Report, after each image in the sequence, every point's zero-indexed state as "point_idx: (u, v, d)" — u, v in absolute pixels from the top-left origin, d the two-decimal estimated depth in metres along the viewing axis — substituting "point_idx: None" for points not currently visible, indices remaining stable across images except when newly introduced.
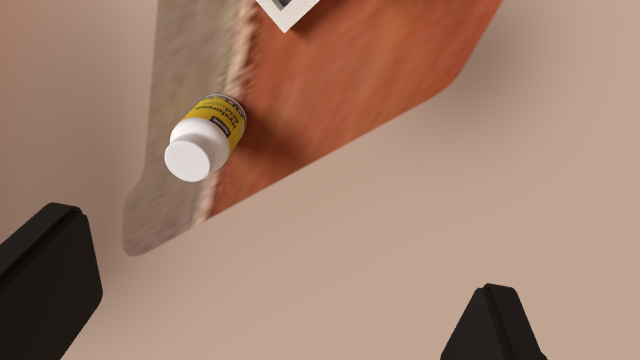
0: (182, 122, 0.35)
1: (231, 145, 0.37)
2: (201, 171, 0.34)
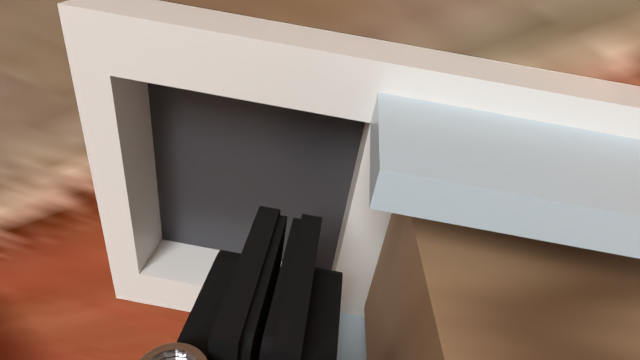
0: None
1: None
2: None
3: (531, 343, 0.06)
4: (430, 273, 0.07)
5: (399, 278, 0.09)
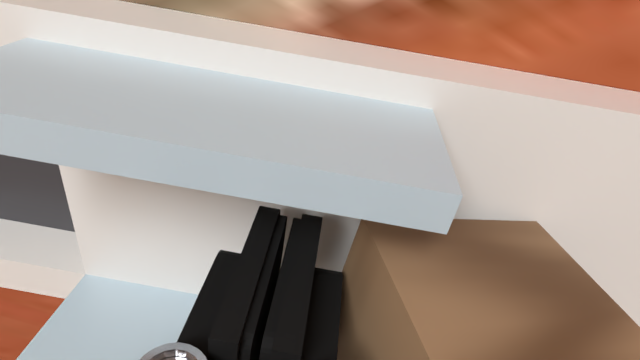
0: None
1: None
2: None
3: None
4: (430, 346, 0.06)
5: (376, 337, 0.08)
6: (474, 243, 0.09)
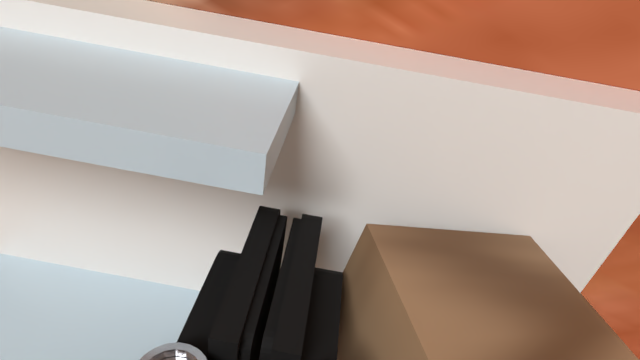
0: None
1: None
2: None
3: None
4: (433, 356, 0.07)
5: (375, 343, 0.08)
6: (472, 255, 0.09)
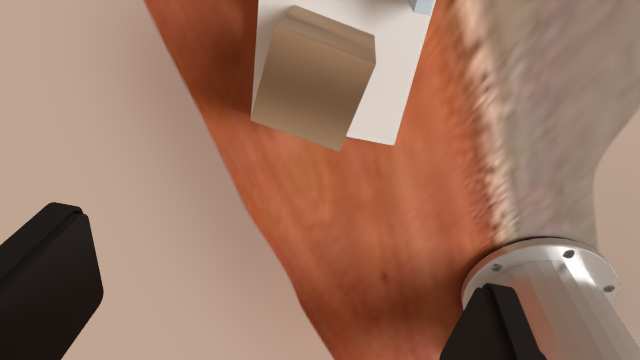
0: None
1: None
2: None
3: None
4: (374, 51, 0.21)
5: (352, 35, 0.22)
6: None
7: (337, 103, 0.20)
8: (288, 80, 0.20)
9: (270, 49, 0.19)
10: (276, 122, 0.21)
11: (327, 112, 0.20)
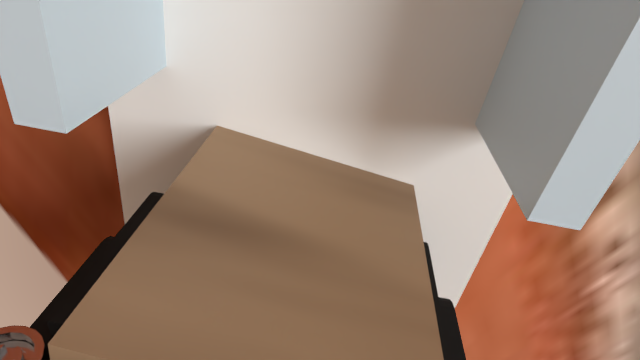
0: None
1: None
2: None
3: None
4: (427, 286, 0.07)
5: (360, 223, 0.08)
6: None
7: None
8: None
9: None
10: None
11: None
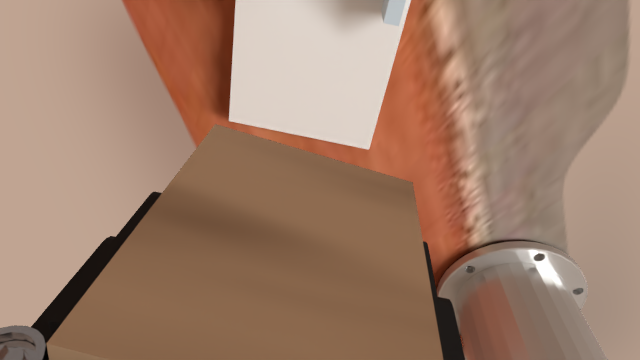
0: None
1: None
2: None
3: None
4: (426, 283, 0.07)
5: (359, 221, 0.08)
6: None
7: None
8: None
9: None
10: None
11: None
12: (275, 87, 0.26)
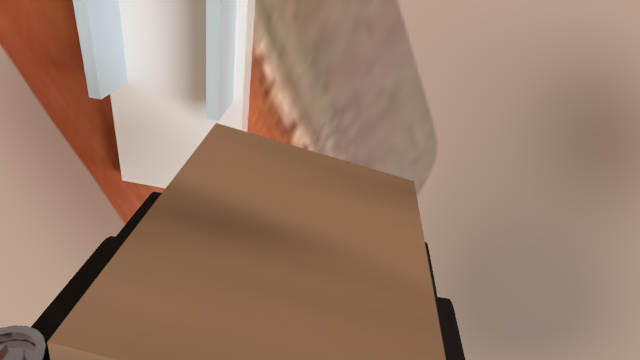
0: None
1: None
2: None
3: None
4: (427, 281, 0.07)
5: (360, 219, 0.08)
6: None
7: None
8: None
9: None
10: None
11: None
12: (153, 155, 0.32)
